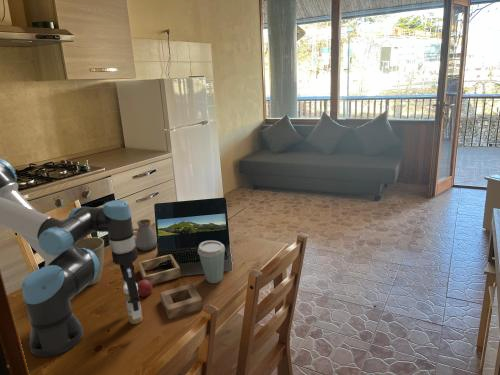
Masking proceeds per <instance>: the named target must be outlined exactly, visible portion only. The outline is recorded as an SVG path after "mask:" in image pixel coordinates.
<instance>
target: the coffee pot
mask: <svg viewBox="0 0 500 375" xmlns="http://www.w3.org/2000/svg"><path fill="white" fill-rule="evenodd" d="M151 222H152V220H151V219H148V218H146V219H144V218H143V219H140V220H138V221H137V222H136V224H137V225H138V228H133V231H135V232H136V235H135V236H136V239H134V240H135V244H136V245H135V247H136V249H139V250H140V251H150V250H153V249H155V248H156V247H157V245H158V244H157V237H156V235H157V233H156V232H155V230H154V229H153V227H152V226H151Z"/></svg>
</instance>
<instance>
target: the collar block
mask: <svg viewBox="0 0 500 375" xmlns="http://www.w3.org/2000/svg"><path fill="white" fill-rule="evenodd" d="M159 295H160V296H159V297H160V302H161V304H162V306H163V309H164V311H165V313H166V316H167V318H168V319H169V320H170V319H173V318H177V317H180V316H183V315H186V314H190V313H193V312H196V311H199V310H202V309H204V303H203V299H202V297H201V295H200V294H199V291H198V290H197V289H196V287H195V286H194V285H193V283H188V284H185V285H182V286H178V287H175V288H171V289H168V290H164V291H161V292H159ZM176 301H177V302H176Z"/></svg>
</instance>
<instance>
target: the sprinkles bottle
mask: <svg viewBox="0 0 500 375" xmlns="http://www.w3.org/2000/svg"><path fill="white" fill-rule="evenodd" d="M137 283H138V282H136V286H137V291H138V285H137ZM122 291H123V293H124V299H125V305H126V310H127V315H128V321H129V323H130V324H132V325H137V324H139V323H141V322H142V321H143V320H144V319H143V318H144V317H143V313H142V311H141V315H142V317H141V318H137V319H134V320H133V317H132V311H131V306H130V303H128V301H130V297H129V292H128V288H127V283H126V284H125V285H124V284H123V286H122ZM138 296H139V295H138ZM139 303H140V309H141V310H142V307H141V300H140V301H139Z"/></svg>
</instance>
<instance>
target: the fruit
mask: <svg viewBox="0 0 500 375" xmlns="http://www.w3.org/2000/svg"><path fill="white" fill-rule="evenodd" d="M136 283H137V285H138V295H139V296H140V297H143V298H144V297H147V296H149V295H150V294H151V292H152V290H153V285H152V284H151V282H150V281H148V280H143V279H142V280H139V281H138V282H136Z"/></svg>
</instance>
